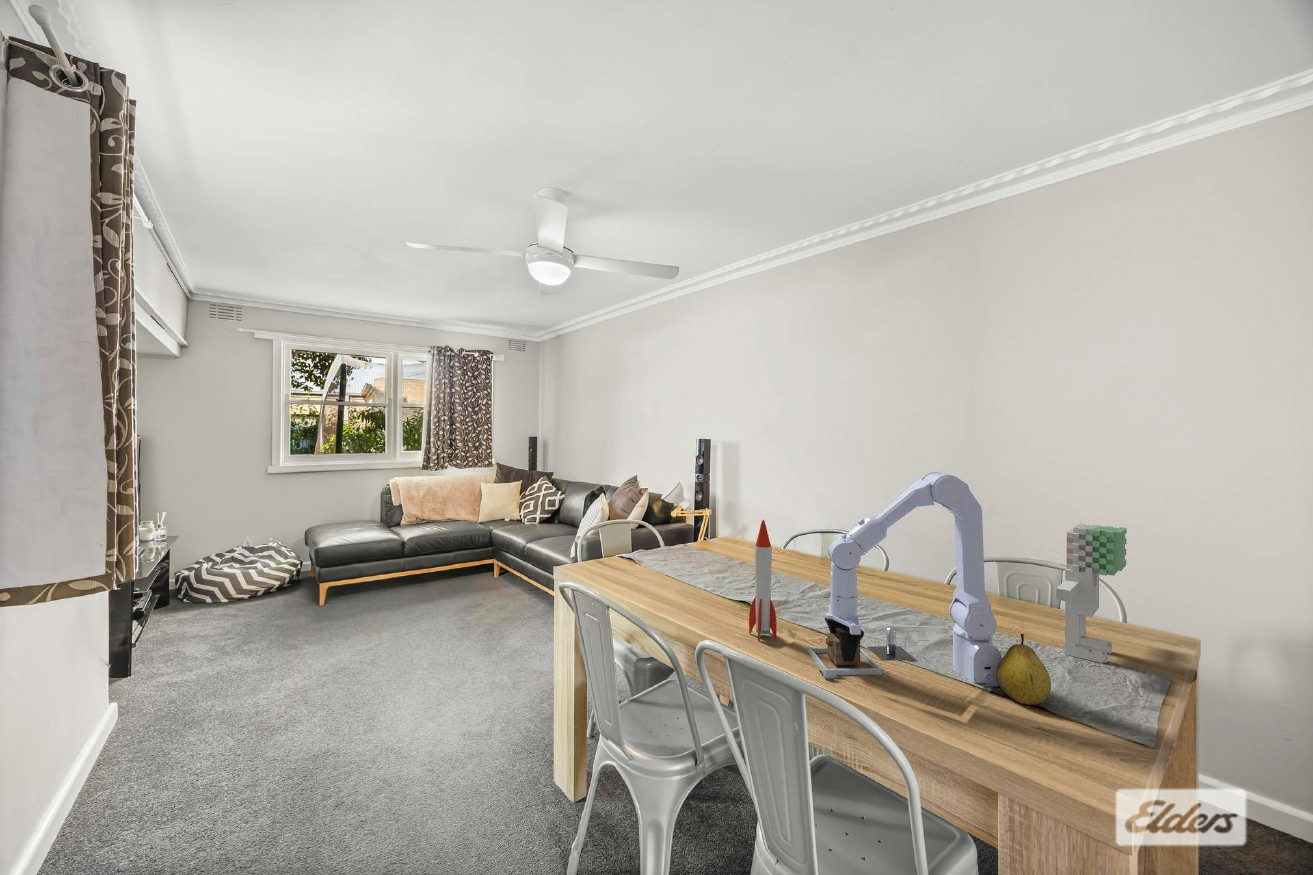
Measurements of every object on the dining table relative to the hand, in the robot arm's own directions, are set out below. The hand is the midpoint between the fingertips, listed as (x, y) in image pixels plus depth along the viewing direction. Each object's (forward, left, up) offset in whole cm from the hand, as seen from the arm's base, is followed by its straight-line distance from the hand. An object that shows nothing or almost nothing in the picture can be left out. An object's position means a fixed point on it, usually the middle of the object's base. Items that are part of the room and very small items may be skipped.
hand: (843, 655), depth 122 cm
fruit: (-15, -30, -3) cm, 34 cm away
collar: (0, 0, -1) cm, 1 cm away
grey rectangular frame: (0, 0, -3) cm, 3 cm away
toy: (+6, -62, -3) cm, 62 cm away
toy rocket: (+19, +14, -3) cm, 24 cm away
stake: (+5, -13, -3) cm, 14 cm away
